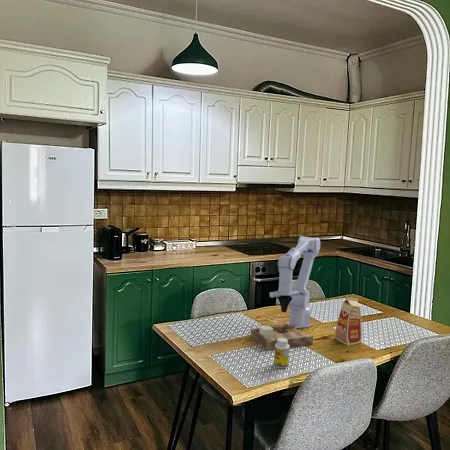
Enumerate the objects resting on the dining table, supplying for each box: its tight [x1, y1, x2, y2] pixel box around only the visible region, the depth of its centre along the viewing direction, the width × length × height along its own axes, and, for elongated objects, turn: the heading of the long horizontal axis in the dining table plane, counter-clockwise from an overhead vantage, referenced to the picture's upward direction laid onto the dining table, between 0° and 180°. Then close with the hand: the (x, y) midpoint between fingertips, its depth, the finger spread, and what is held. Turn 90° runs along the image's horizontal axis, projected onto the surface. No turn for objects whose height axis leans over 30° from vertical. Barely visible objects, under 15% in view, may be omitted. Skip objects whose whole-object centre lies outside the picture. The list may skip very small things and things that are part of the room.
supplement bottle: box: [273, 338, 291, 369], centre depth 165 cm, size 6×6×10 cm
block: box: [258, 325, 274, 340], centre depth 189 cm, size 4×4×4 cm
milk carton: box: [333, 296, 363, 346], centre depth 194 cm, size 9×9×20 cm
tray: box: [250, 324, 314, 351], centre depth 192 cm, size 22×16×4 cm
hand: (283, 311), depth 199 cm, fingers closed
